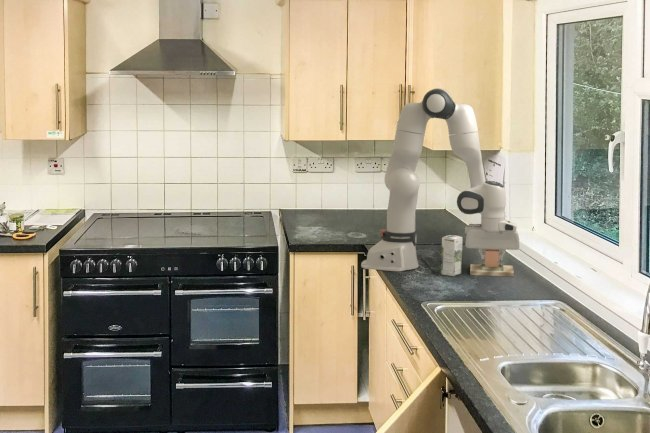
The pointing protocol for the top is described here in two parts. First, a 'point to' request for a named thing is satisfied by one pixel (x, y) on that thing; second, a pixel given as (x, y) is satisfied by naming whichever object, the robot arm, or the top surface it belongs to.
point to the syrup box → (451, 255)
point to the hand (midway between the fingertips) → (491, 260)
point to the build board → (491, 270)
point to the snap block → (491, 257)
